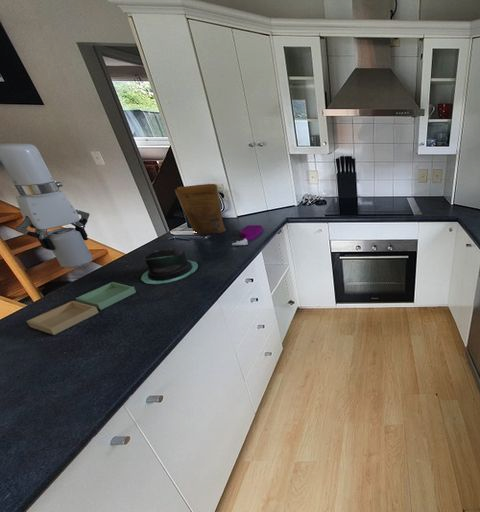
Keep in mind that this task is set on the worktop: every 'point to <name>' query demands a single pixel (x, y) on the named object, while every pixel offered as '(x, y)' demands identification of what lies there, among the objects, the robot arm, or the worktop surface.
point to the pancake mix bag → (202, 208)
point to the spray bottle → (249, 234)
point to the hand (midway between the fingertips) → (67, 244)
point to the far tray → (106, 295)
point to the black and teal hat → (167, 266)
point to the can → (69, 248)
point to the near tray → (62, 317)
